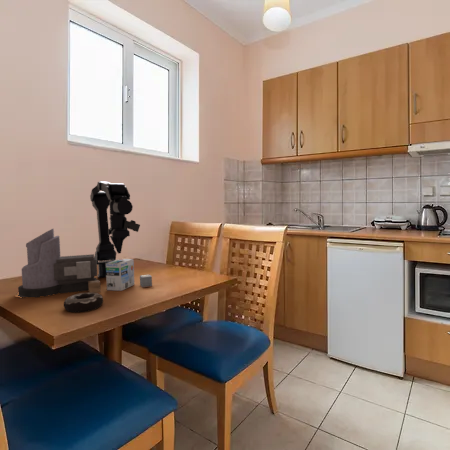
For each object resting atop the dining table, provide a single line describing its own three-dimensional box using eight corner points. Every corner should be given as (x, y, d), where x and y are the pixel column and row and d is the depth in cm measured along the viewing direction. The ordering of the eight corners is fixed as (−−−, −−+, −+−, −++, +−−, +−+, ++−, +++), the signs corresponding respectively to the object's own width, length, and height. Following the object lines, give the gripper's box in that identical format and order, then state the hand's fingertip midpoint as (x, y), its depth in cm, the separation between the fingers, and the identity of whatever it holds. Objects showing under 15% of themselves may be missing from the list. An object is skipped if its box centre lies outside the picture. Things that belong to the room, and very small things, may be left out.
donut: (95, 300, 112) (95, 289, 111) (109, 308, 103) (108, 295, 103) (59, 308, 104) (58, 296, 104) (70, 317, 95) (69, 303, 95)
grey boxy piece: (9, 300, 113) (5, 231, 112) (20, 289, 128) (16, 228, 127) (100, 290, 124) (97, 227, 123) (100, 281, 139) (98, 225, 137)
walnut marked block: (88, 291, 123) (88, 280, 123) (99, 290, 125) (99, 279, 125) (89, 294, 120) (88, 283, 119) (100, 292, 121) (99, 281, 121)
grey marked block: (140, 285, 131) (139, 275, 131) (150, 284, 133) (149, 274, 133) (142, 287, 128) (141, 277, 127) (152, 286, 129) (151, 276, 129)
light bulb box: (121, 291, 122) (120, 263, 122) (106, 290, 124) (104, 263, 123) (135, 284, 133) (134, 258, 132) (120, 283, 134) (119, 258, 133)
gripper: (142, 214, 124) (143, 254, 124) (134, 213, 140) (135, 249, 141) (111, 215, 119) (113, 256, 120) (107, 214, 136) (109, 251, 137)
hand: (119, 253), depth 129 cm, fingers closed
